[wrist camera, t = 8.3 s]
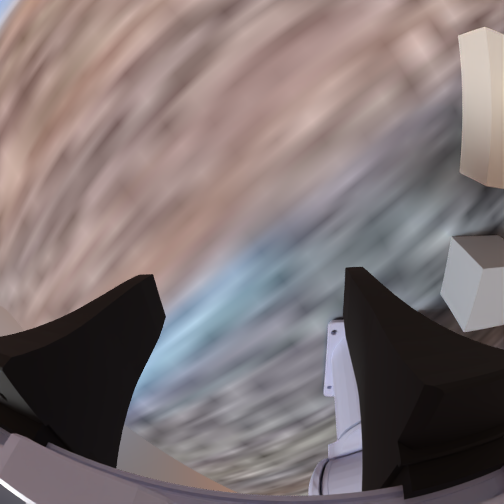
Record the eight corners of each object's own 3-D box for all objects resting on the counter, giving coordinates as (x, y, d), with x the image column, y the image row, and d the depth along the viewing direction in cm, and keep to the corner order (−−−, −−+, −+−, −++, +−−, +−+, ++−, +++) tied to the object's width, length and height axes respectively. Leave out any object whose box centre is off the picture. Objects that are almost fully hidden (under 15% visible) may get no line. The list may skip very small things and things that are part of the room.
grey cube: (485, 288, 20) (512, 322, 16) (439, 293, 21) (463, 332, 17) (498, 234, 18) (532, 263, 14) (450, 236, 19) (482, 268, 15)
